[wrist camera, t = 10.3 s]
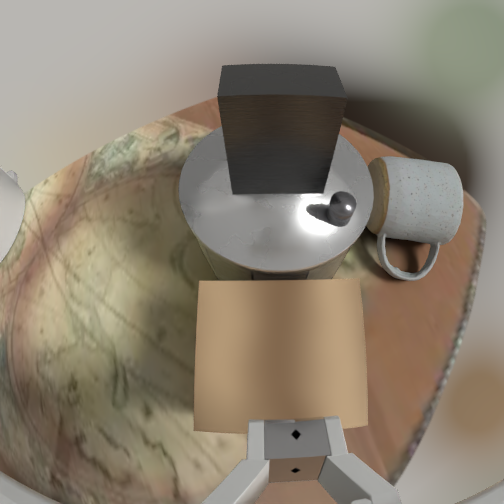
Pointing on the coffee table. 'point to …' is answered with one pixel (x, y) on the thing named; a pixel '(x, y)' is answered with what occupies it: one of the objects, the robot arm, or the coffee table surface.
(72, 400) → the coffee table surface
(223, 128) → the lid
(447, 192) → the ceramic mug
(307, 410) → the tan block
